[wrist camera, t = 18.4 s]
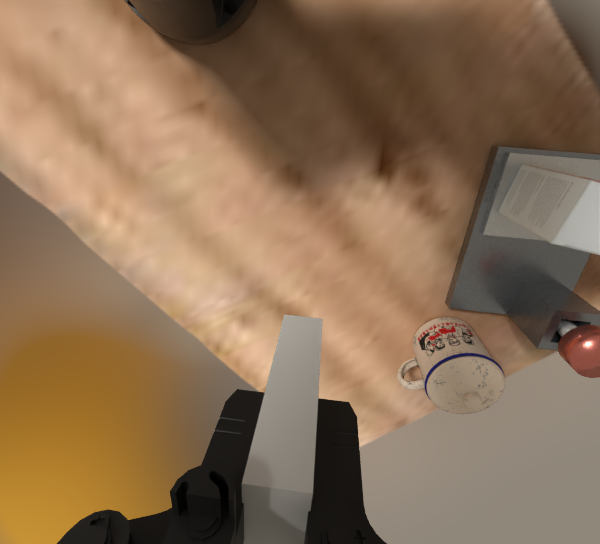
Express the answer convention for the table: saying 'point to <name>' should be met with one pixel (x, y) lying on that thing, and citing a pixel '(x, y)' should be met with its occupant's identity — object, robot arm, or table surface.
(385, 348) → the table surface
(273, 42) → the table surface
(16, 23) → the table surface
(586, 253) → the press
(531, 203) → the small box
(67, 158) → the table surface
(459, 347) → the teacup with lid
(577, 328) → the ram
